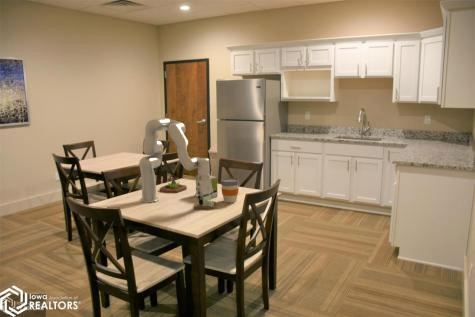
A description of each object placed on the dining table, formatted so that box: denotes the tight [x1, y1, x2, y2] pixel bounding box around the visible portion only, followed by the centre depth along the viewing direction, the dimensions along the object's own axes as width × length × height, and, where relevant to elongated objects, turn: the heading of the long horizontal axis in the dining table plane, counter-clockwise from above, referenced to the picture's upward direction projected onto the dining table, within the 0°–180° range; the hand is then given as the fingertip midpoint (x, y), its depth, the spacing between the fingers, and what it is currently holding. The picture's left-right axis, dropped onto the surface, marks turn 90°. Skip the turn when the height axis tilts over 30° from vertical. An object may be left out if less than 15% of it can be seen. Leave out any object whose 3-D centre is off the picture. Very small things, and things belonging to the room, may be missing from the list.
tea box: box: [195, 174, 218, 199], centre depth 277 cm, size 15×10×15 cm, turn 37°
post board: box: [193, 201, 217, 211], centre depth 251 cm, size 14×14×5 cm
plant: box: [159, 176, 188, 194], centre depth 296 cm, size 20×20×11 cm
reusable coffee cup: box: [220, 177, 240, 203], centre depth 263 cm, size 13×13×15 cm
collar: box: [197, 194, 215, 207], centre depth 249 cm, size 10×6×6 cm, turn 46°
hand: (204, 203), depth 251 cm, fingers closed on collar, 6 cm apart
